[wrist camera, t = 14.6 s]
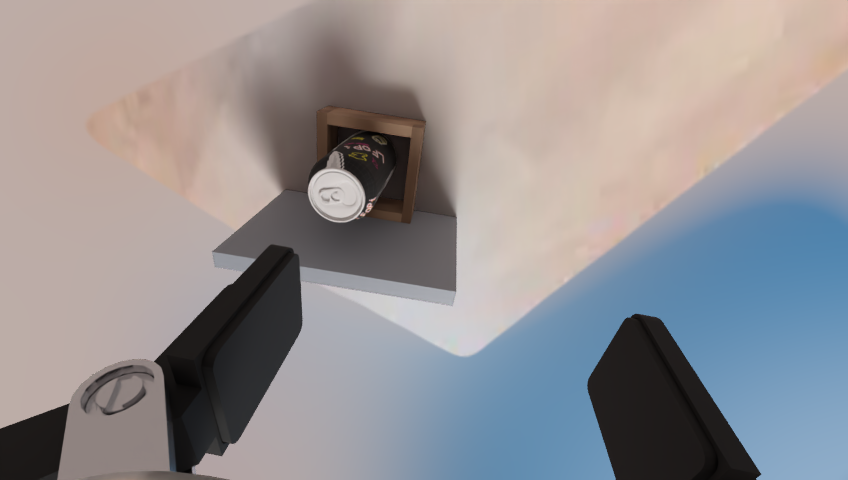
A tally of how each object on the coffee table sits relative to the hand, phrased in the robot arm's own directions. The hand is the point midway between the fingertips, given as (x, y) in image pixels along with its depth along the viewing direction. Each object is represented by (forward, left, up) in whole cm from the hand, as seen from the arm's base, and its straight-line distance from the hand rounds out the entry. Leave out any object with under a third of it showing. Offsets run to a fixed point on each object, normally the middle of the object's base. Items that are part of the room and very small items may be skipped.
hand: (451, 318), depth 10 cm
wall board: (+8, +11, -29) cm, 32 cm away
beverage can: (+8, +5, -29) cm, 31 cm away
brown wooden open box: (+8, +5, -29) cm, 31 cm away
